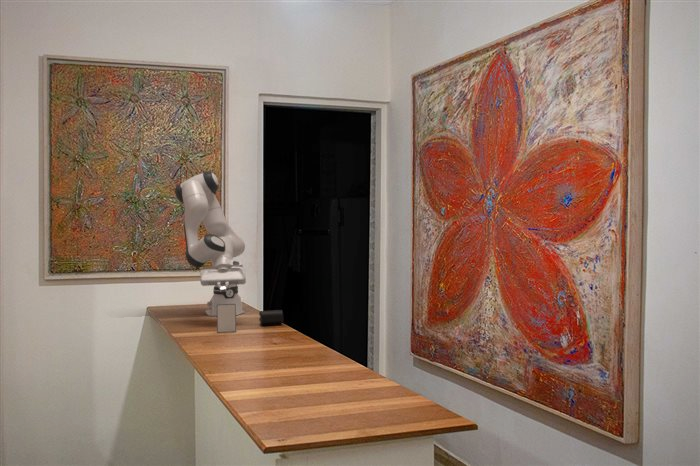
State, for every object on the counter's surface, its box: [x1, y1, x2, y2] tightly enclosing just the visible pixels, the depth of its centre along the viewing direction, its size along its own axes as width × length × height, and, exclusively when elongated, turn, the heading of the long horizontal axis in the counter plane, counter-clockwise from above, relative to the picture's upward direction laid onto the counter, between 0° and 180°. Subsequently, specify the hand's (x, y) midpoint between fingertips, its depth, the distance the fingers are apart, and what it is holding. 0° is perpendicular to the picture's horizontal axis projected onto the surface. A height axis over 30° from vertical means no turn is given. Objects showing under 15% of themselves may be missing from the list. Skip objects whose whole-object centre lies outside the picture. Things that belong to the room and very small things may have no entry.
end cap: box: [258, 309, 284, 327], centre depth 332 cm, size 10×7×7 cm
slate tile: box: [216, 304, 237, 334], centre depth 315 cm, size 2×8×12 cm, turn 100°
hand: (223, 291), depth 327 cm, fingers closed
